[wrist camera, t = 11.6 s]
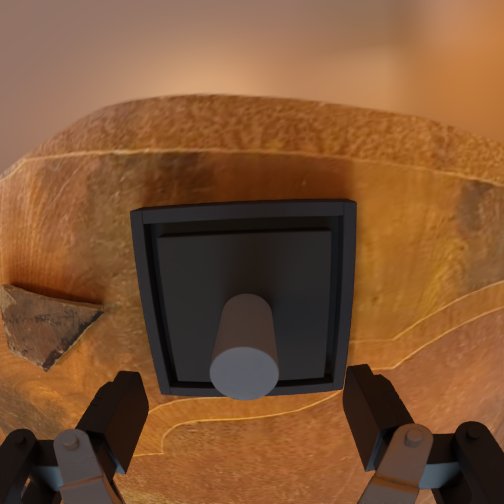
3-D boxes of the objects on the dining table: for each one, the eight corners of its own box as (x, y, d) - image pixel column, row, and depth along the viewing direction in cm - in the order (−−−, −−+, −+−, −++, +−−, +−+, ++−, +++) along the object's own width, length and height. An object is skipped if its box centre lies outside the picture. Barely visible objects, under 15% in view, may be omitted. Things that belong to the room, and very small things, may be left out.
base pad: (141, 207, 19) (129, 211, 17) (347, 198, 19) (357, 201, 17) (167, 379, 22) (161, 394, 20) (337, 374, 22) (343, 389, 20)
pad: (161, 233, 18) (112, 267, 11) (327, 227, 18) (369, 258, 11) (181, 371, 21) (156, 442, 14) (321, 367, 21) (344, 439, 14)
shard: (111, 303, 20) (101, 313, 19) (117, 385, 22) (109, 398, 21) (8, 277, 20) (-5, 283, 18) (21, 352, 22) (10, 361, 20)
